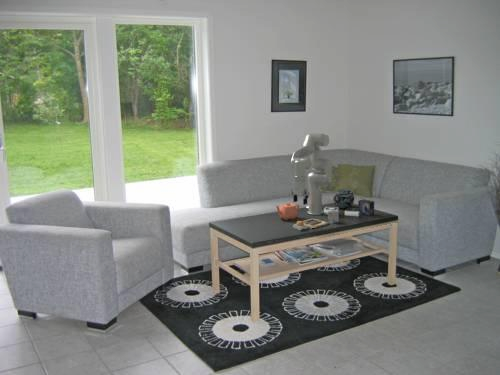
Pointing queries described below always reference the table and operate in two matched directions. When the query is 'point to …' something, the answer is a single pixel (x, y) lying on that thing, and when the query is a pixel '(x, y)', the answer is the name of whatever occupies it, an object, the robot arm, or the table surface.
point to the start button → (300, 223)
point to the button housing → (300, 227)
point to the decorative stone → (343, 198)
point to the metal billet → (333, 216)
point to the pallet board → (314, 223)
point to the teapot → (288, 211)
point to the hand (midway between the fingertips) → (300, 202)
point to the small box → (366, 207)
